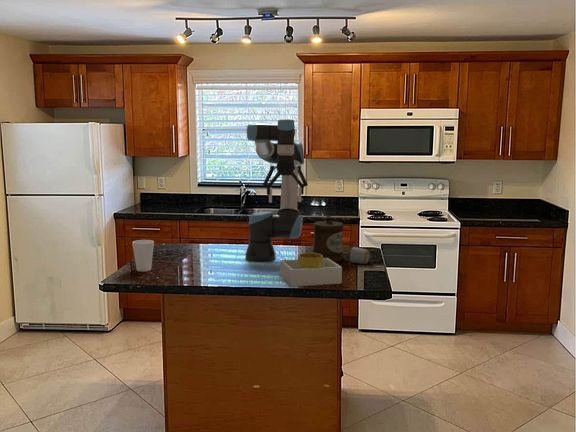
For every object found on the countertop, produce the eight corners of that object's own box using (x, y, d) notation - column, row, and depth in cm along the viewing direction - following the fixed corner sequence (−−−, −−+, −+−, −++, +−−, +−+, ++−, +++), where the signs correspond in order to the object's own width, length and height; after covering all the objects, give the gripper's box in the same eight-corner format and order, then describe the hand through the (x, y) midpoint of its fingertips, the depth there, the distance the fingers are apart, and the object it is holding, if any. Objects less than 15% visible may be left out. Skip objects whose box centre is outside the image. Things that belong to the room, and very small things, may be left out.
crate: (280, 275, 239) (280, 260, 238) (327, 273, 245) (327, 257, 244) (291, 286, 222) (291, 270, 221) (341, 283, 228) (341, 267, 227)
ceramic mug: (365, 265, 260) (366, 249, 259) (349, 263, 263) (349, 248, 262) (371, 261, 270) (372, 246, 269) (355, 259, 273) (356, 244, 272)
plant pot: (305, 281, 226) (305, 258, 225) (293, 275, 235) (294, 253, 234) (326, 278, 231) (327, 256, 230) (314, 273, 240) (314, 251, 239)
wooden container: (333, 263, 264) (334, 218, 261) (307, 259, 272) (308, 216, 269) (347, 257, 277) (348, 215, 273) (321, 254, 284) (322, 212, 281)
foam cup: (158, 268, 250) (157, 240, 248) (147, 273, 241) (146, 244, 239) (140, 266, 253) (140, 239, 251) (128, 271, 244) (128, 242, 242)
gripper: (259, 154, 233) (259, 203, 236) (315, 154, 240) (314, 202, 243) (256, 154, 240) (256, 201, 244) (309, 154, 247) (309, 200, 250)
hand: (285, 202), depth 243 cm, fingers open, 13 cm apart
